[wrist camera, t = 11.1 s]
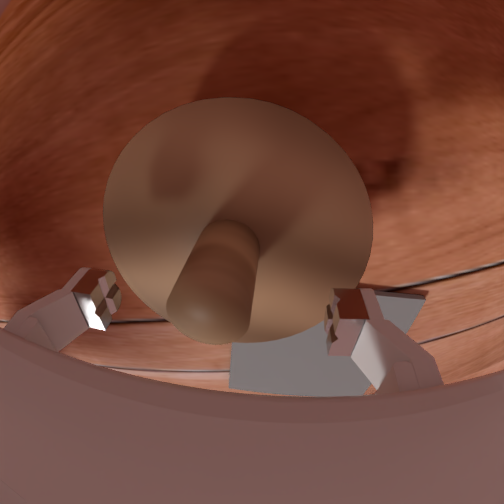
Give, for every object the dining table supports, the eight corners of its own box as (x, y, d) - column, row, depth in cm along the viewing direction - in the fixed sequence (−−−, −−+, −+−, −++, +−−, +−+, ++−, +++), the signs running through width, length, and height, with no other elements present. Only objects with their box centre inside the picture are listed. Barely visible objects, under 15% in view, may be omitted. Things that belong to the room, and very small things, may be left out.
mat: (360, 392, 29) (360, 396, 28) (229, 383, 29) (228, 388, 29) (423, 295, 21) (425, 299, 20) (238, 273, 21) (237, 278, 20)
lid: (339, 332, 16) (350, 410, 12) (141, 316, 17) (108, 382, 13) (383, 110, 10) (456, 127, 5) (99, 113, 11) (13, 137, 6)
